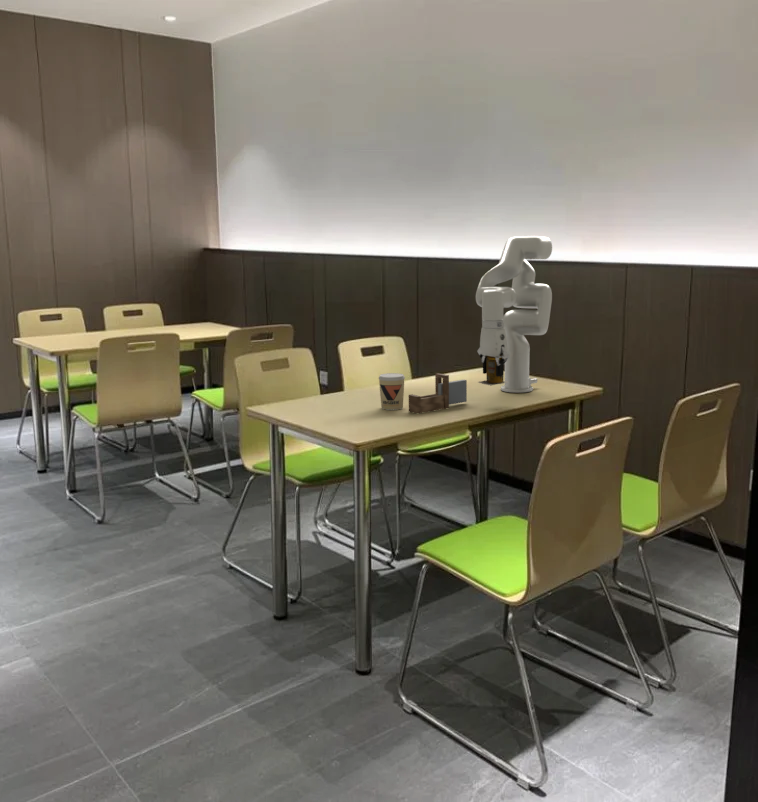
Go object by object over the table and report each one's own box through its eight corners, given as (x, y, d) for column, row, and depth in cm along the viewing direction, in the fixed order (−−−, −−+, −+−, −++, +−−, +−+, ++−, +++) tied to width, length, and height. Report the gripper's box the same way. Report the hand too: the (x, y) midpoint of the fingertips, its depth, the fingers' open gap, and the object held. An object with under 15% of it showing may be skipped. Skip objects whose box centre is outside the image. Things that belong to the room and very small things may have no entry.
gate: (463, 400, 289) (463, 379, 288) (466, 401, 288) (466, 380, 287) (438, 405, 283) (438, 383, 281) (441, 406, 281) (440, 384, 280)
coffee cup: (377, 410, 280) (376, 377, 278) (381, 405, 289) (380, 372, 287) (403, 411, 279) (403, 377, 276) (406, 405, 288) (406, 373, 285)
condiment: (508, 382, 283) (508, 349, 280) (490, 386, 279) (490, 352, 276) (495, 379, 289) (494, 347, 286) (477, 382, 285) (476, 350, 282)
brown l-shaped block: (439, 405, 286) (438, 373, 283) (448, 408, 281) (448, 375, 279) (408, 411, 278) (407, 377, 275) (417, 414, 273) (417, 379, 271)
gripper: (517, 325, 274) (517, 376, 278) (484, 321, 288) (484, 369, 292) (502, 328, 270) (502, 379, 274) (468, 323, 284) (469, 372, 288)
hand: (493, 374), depth 283 cm, fingers closed on condiment, 6 cm apart
